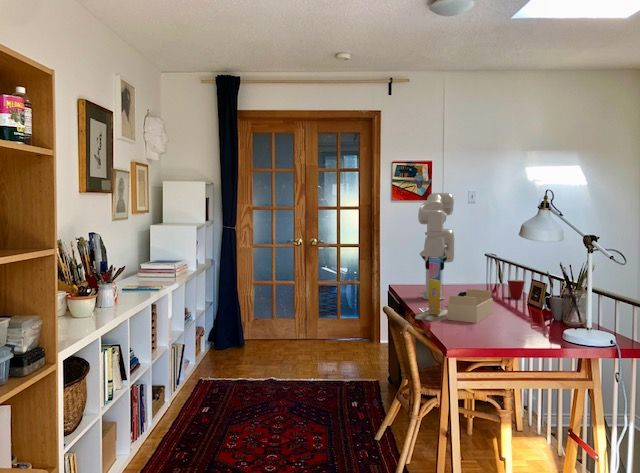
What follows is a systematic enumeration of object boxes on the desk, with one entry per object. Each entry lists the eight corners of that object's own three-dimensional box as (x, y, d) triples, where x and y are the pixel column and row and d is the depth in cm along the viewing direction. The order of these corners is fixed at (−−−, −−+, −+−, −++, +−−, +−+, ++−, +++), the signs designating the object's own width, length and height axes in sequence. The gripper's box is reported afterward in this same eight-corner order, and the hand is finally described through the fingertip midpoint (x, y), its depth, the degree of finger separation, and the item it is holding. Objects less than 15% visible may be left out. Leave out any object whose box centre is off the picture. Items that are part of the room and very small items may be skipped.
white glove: (415, 318, 257) (415, 315, 257) (432, 311, 277) (432, 308, 277) (436, 321, 251) (436, 318, 251) (452, 313, 271) (452, 310, 271)
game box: (439, 315, 253) (440, 259, 252) (428, 314, 255) (429, 259, 253) (439, 307, 274) (440, 256, 272) (429, 306, 275) (429, 256, 273)
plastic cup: (523, 297, 322) (523, 278, 321) (526, 300, 311) (527, 280, 311) (505, 297, 324) (505, 278, 324) (508, 299, 313) (508, 280, 313)
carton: (447, 319, 255) (447, 295, 254) (465, 310, 279) (465, 288, 278) (477, 322, 247) (477, 298, 246) (492, 313, 271) (492, 290, 270)
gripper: (416, 234, 264) (415, 269, 265) (449, 235, 254) (448, 271, 255) (421, 234, 270) (421, 268, 271) (454, 234, 261) (453, 269, 262)
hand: (434, 269), depth 263 cm, fingers closed on game box, 6 cm apart
